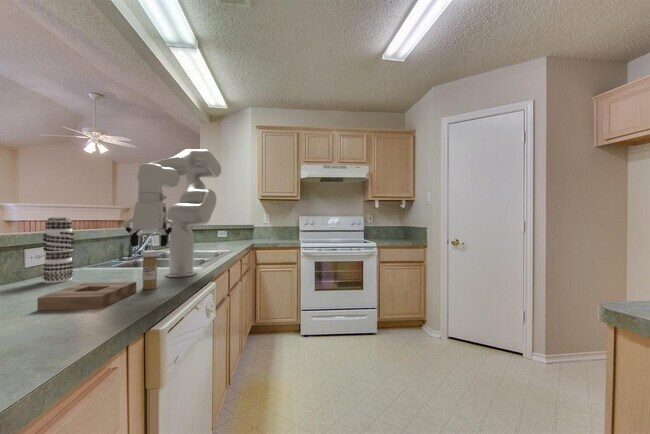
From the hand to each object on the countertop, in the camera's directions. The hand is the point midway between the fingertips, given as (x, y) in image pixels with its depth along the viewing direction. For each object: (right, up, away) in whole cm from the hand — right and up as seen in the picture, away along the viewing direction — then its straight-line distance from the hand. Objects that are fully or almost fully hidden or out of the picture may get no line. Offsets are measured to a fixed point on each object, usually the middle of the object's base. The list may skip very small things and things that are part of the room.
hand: (149, 246), depth 102 cm
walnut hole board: (-8, -15, -14) cm, 23 cm away
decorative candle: (-43, -15, +11) cm, 46 cm away
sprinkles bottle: (0, -15, +1) cm, 15 cm away
